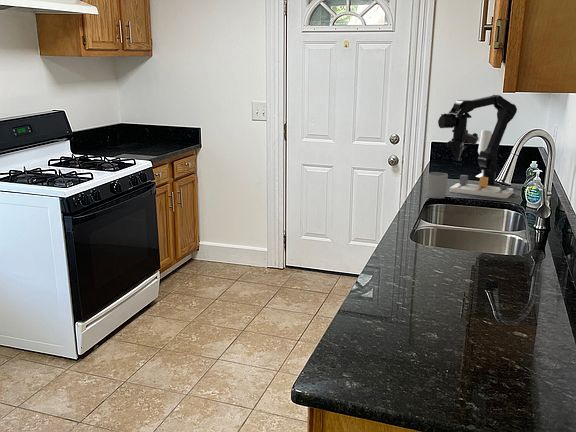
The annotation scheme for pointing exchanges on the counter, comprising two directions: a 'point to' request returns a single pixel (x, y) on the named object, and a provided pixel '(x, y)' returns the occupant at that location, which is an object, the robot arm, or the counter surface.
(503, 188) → the switch
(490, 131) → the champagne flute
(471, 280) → the counter surface
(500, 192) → the breaker panel
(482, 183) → the orange matte cube
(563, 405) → the counter surface
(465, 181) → the switch
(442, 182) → the cup
